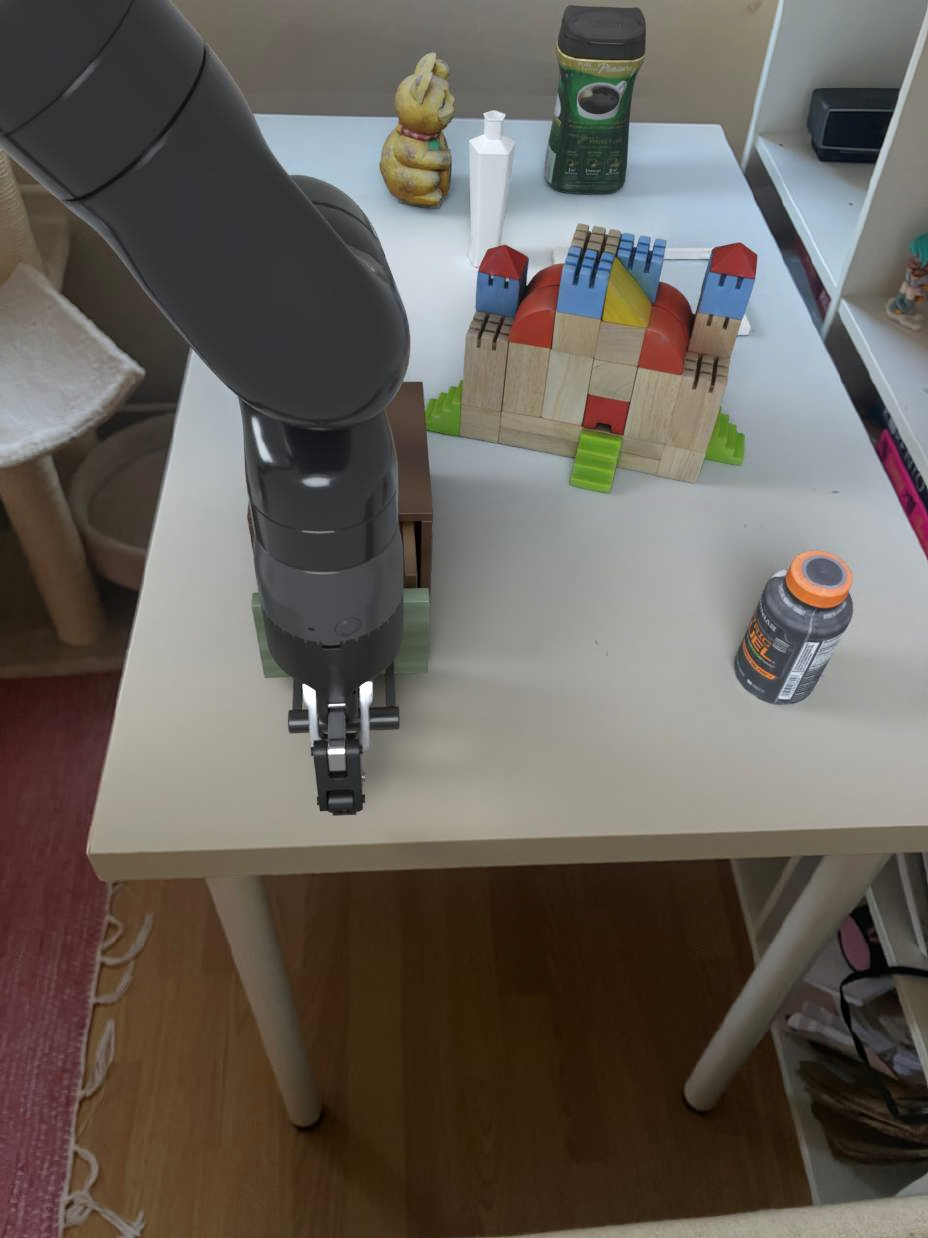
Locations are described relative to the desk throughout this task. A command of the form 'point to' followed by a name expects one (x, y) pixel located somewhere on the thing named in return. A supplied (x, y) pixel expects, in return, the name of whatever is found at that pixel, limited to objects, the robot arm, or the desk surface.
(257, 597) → the drawer
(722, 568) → the desk surface
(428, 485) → the cabinet
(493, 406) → the block set
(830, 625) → the pill bottle
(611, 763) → the desk surface
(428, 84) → the decorative figurine
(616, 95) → the coffee jar
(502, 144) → the perfume bottle
